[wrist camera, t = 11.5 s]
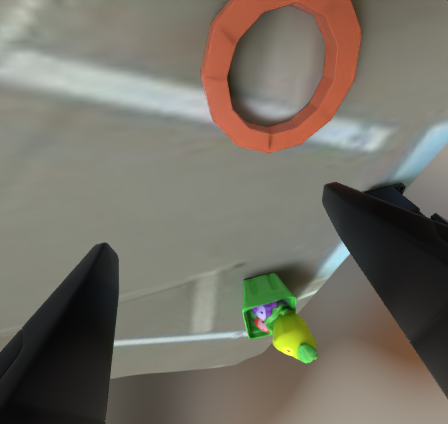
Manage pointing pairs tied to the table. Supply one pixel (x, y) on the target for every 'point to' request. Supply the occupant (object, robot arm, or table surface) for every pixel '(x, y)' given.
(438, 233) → the robot arm
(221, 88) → the ring
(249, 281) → the fruit basket
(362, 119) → the table surface
